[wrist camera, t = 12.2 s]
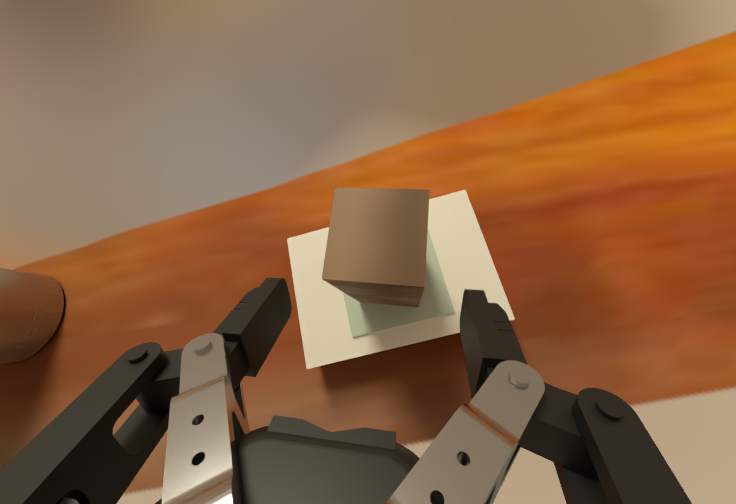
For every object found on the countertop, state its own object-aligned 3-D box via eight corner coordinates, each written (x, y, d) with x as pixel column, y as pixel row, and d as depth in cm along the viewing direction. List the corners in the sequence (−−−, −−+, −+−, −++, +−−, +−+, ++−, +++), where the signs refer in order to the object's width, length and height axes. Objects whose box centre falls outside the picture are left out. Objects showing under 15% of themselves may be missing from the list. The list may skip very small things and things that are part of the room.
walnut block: (359, 301, 22) (321, 278, 13) (365, 246, 23) (335, 187, 14) (418, 307, 22) (424, 286, 12) (421, 249, 23) (429, 189, 13)
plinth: (318, 365, 24) (305, 369, 21) (299, 248, 28) (286, 238, 25) (502, 320, 23) (515, 319, 20) (459, 204, 27) (465, 188, 24)
